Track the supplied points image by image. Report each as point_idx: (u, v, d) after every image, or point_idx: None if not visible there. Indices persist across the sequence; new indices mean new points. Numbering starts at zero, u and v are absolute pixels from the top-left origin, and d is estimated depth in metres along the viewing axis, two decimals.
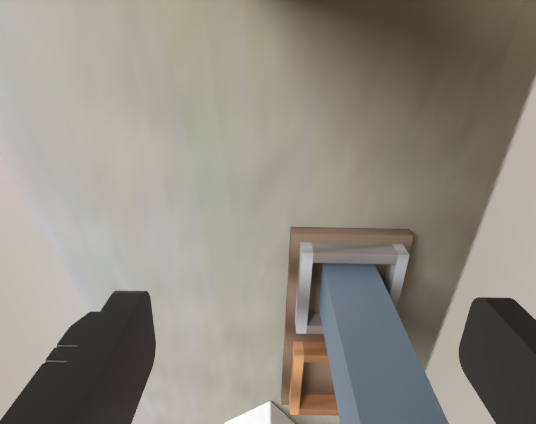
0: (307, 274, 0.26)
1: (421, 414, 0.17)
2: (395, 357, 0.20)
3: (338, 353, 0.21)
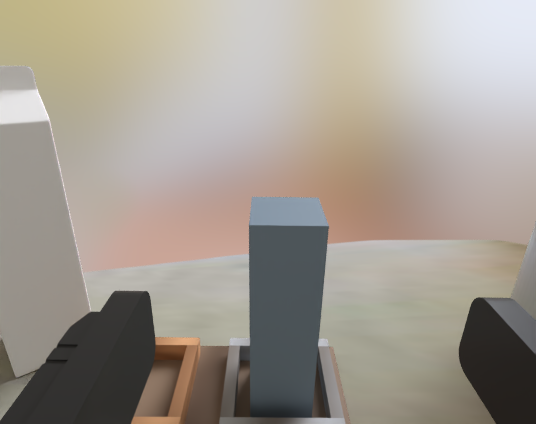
0: None
1: None
2: None
3: None
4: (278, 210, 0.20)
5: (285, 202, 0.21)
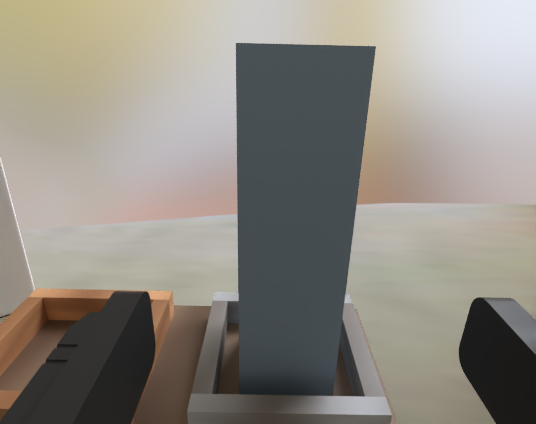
0: None
1: None
2: None
3: None
4: None
5: None
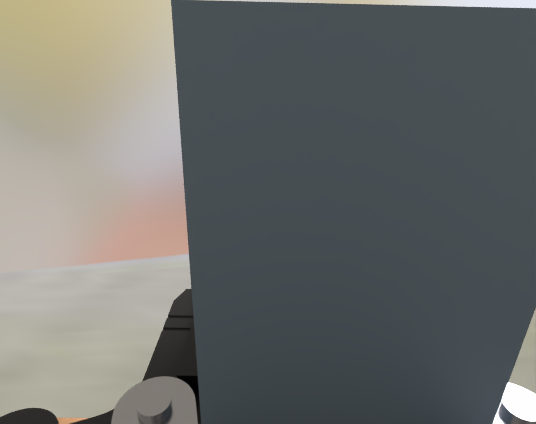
0: None
1: None
2: None
3: None
4: None
5: None
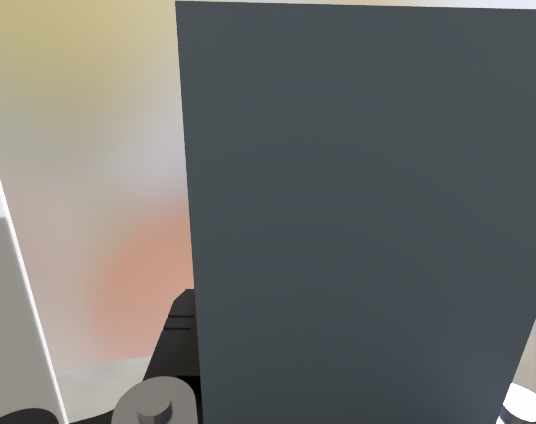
0: None
1: None
2: None
3: None
4: None
5: None
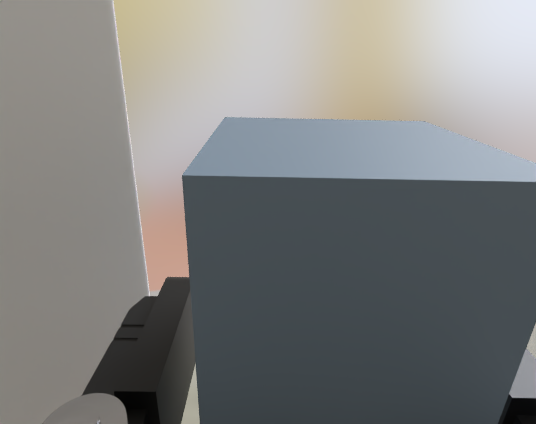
0: None
1: None
2: None
3: None
4: (314, 139, 0.05)
5: (331, 125, 0.06)
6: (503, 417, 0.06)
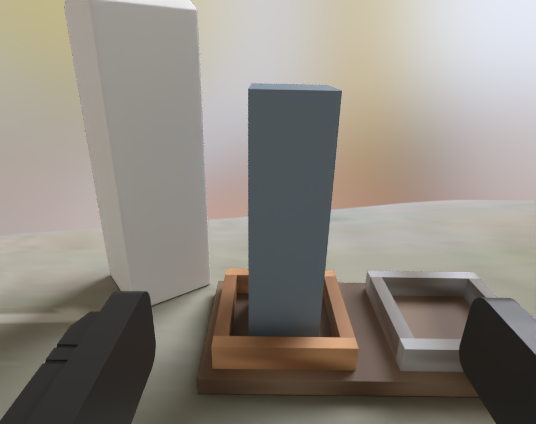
0: (451, 275, 0.25)
1: None
2: None
3: None
4: (282, 86, 0.17)
5: (290, 85, 0.18)
6: None
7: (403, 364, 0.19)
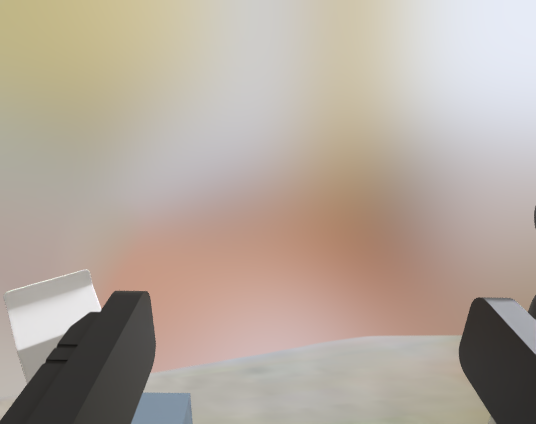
0: None
1: None
2: None
3: None
4: (148, 418, 0.25)
5: (160, 402, 0.26)
6: None
7: None
